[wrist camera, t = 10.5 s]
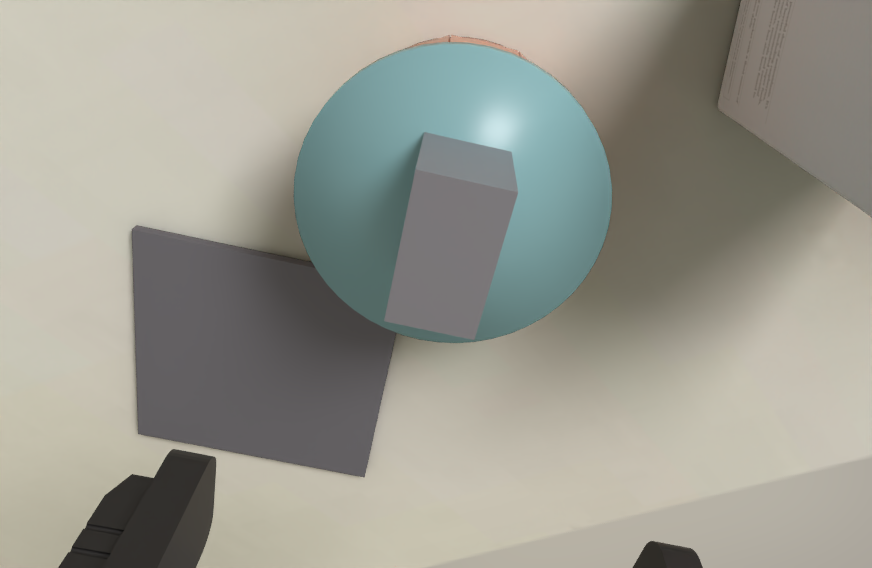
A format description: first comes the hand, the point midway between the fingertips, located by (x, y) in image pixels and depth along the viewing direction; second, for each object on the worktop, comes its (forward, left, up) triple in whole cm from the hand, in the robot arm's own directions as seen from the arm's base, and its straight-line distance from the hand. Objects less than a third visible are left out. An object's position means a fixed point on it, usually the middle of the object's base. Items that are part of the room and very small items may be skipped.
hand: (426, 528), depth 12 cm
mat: (-8, -14, -21) cm, 26 cm away
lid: (0, 0, -15) cm, 15 cm away
